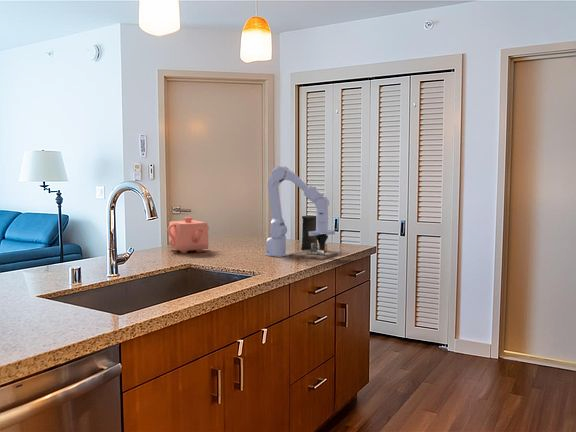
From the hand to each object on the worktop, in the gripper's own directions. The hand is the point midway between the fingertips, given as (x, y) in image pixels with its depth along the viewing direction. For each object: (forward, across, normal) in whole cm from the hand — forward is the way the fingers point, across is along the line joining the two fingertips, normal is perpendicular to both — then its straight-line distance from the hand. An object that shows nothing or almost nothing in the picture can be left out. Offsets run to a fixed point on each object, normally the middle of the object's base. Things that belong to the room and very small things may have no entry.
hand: (321, 249), depth 250 cm
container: (+4, +10, +25) cm, 27 cm away
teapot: (+4, -47, +50) cm, 68 cm away
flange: (+2, +1, +5) cm, 5 cm away
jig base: (+4, 0, +7) cm, 8 cm away
